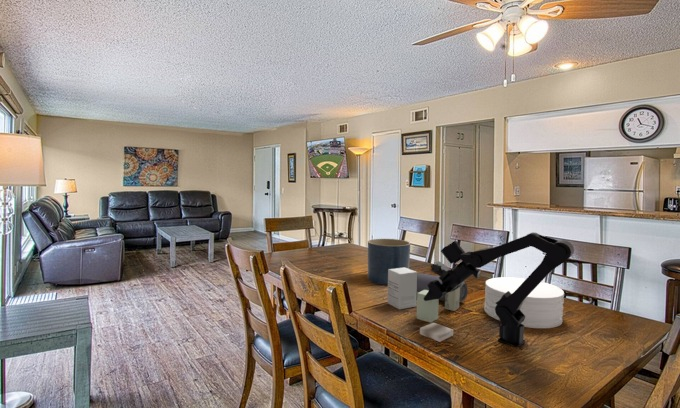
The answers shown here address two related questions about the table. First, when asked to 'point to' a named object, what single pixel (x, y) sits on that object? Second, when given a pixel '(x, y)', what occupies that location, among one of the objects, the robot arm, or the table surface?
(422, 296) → the green block
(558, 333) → the table surface
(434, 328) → the base block
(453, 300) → the box
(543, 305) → the plate stack
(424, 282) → the bluetooth speaker
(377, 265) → the planter
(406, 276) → the supplement box
